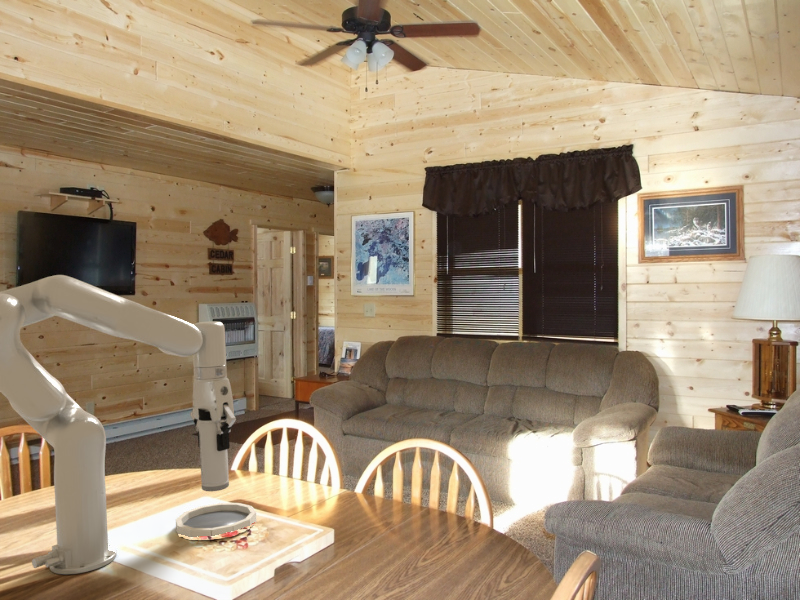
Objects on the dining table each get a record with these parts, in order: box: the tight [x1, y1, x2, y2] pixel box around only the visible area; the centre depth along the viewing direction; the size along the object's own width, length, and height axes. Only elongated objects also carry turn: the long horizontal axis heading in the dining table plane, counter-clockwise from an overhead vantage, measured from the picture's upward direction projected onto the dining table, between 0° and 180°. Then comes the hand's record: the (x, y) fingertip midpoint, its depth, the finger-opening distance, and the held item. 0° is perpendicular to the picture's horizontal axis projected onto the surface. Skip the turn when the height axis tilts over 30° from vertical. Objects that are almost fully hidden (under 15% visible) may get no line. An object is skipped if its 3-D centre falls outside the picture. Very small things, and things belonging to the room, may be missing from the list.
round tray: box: [175, 502, 257, 537], centre depth 151 cm, size 18×18×2 cm
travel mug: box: [198, 408, 230, 492], centre depth 151 cm, size 6×7×20 cm
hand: (213, 447), depth 151 cm, fingers closed on travel mug, 6 cm apart
